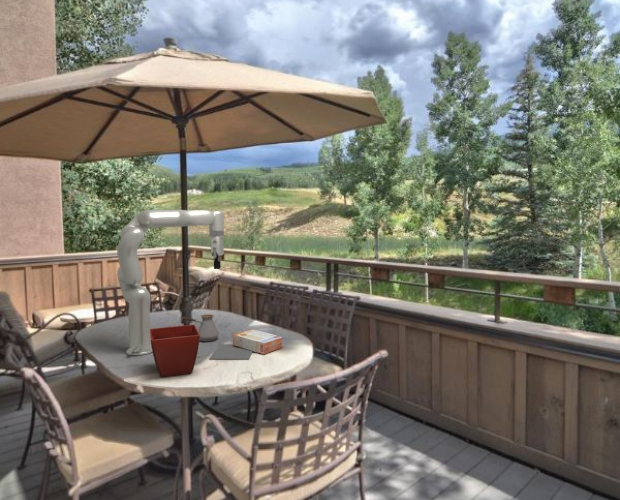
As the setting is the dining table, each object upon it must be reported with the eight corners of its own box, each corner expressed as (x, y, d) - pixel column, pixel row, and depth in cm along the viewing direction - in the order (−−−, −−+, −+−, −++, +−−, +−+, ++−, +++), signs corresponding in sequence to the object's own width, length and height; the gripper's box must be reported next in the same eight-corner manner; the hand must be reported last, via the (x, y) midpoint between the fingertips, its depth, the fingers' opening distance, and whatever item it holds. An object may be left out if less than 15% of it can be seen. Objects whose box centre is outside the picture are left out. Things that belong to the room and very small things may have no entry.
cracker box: (232, 345, 218) (263, 355, 206) (232, 333, 217) (264, 342, 205) (251, 339, 229) (282, 348, 217) (251, 328, 229) (283, 336, 217)
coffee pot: (210, 335, 240) (210, 308, 238) (223, 339, 232) (222, 311, 230) (175, 343, 224) (174, 314, 223) (187, 348, 216) (186, 318, 215)
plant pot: (150, 366, 192) (149, 328, 190) (195, 360, 198) (194, 324, 197) (151, 381, 174) (150, 339, 172) (201, 375, 181) (200, 335, 179)
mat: (248, 359, 199) (248, 358, 199) (209, 359, 200) (209, 358, 200) (255, 345, 221) (255, 344, 221) (220, 345, 222) (220, 344, 222)
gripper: (220, 234, 224) (221, 270, 225) (226, 233, 239) (227, 267, 240) (205, 234, 224) (206, 270, 225) (212, 233, 239) (213, 267, 240)
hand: (217, 268), depth 233 cm, fingers closed
